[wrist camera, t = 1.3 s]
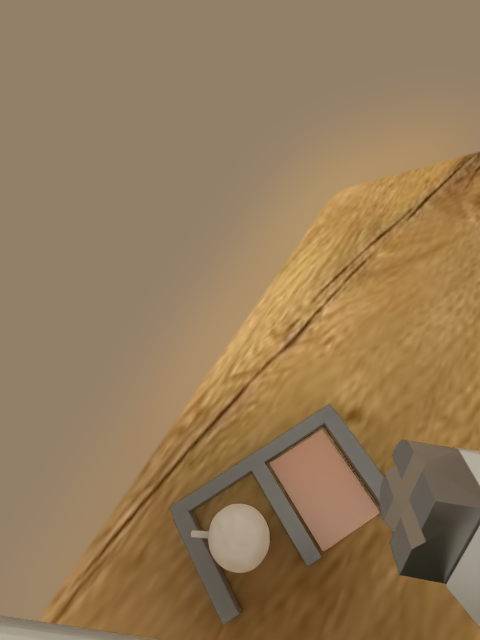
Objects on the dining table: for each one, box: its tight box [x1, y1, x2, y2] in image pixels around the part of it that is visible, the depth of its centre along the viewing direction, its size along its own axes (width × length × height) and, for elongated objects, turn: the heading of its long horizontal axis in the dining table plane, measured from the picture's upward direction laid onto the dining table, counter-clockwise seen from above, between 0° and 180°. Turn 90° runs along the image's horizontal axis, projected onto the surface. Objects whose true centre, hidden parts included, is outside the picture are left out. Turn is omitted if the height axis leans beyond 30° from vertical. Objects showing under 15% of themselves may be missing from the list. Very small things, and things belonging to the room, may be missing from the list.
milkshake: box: [191, 504, 271, 573], centre depth 36 cm, size 4×5×10 cm
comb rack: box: [170, 404, 384, 625], centre depth 40 cm, size 18×10×2 cm, turn 121°
